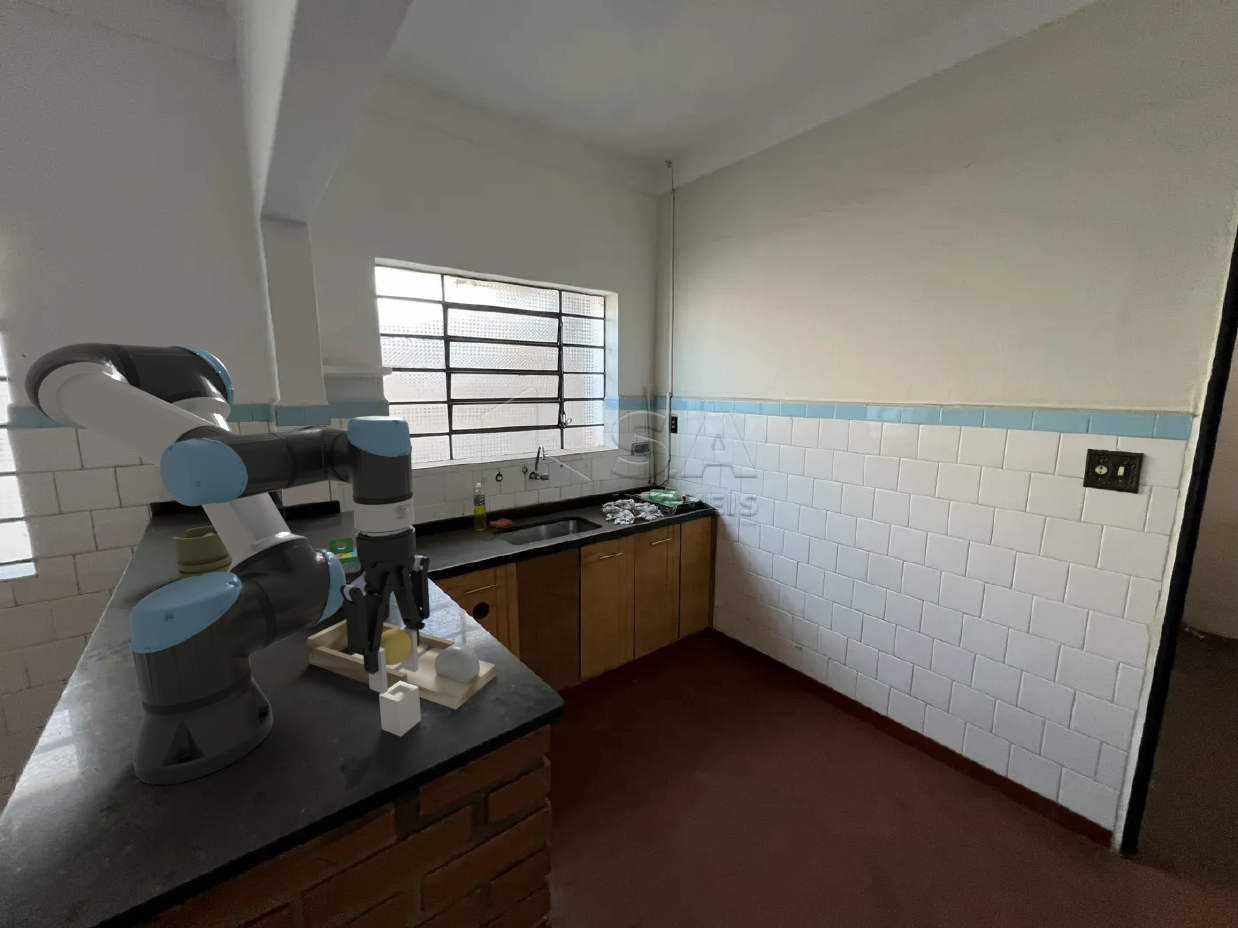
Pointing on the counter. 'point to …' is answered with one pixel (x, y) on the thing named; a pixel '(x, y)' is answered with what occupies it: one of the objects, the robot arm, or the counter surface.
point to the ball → (395, 645)
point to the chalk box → (346, 555)
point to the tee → (400, 708)
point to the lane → (398, 666)
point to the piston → (201, 552)
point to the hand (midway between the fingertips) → (394, 678)
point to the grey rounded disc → (457, 663)
